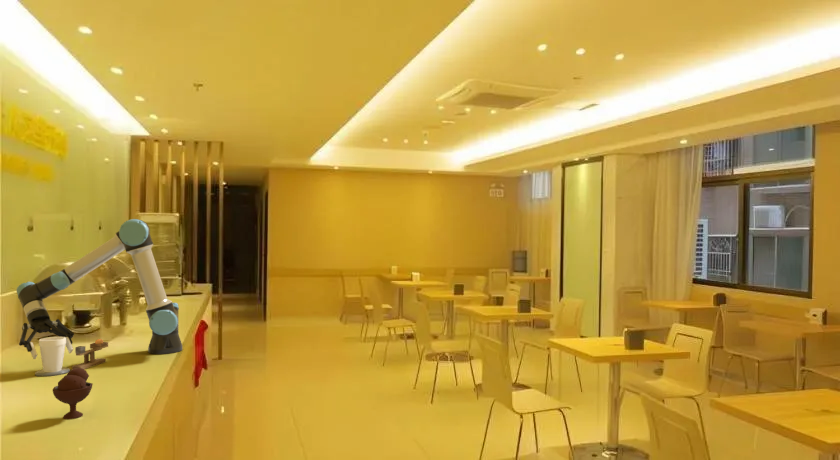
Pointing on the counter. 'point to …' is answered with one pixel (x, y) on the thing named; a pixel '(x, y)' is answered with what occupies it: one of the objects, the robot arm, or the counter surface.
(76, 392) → the ice cream bowl
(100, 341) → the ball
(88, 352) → the catapult
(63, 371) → the coaster
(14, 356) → the counter surface
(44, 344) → the foam cup
